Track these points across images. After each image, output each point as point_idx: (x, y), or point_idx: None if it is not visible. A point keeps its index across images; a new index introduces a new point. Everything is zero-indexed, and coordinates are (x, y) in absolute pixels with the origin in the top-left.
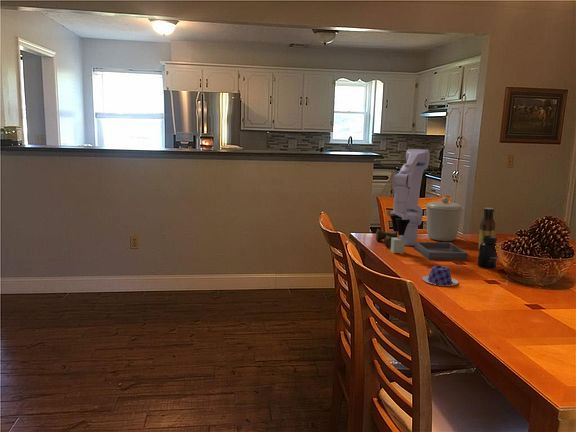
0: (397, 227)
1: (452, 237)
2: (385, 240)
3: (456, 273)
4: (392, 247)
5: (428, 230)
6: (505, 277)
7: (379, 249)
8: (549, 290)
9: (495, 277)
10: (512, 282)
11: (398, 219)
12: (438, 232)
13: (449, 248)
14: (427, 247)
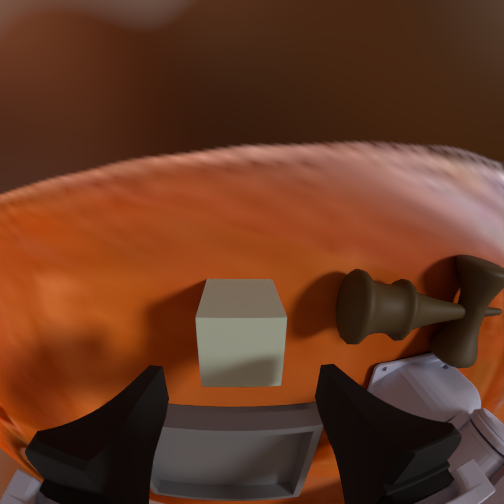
0: (328, 413)
1: None
2: (366, 279)
3: (13, 387)
4: (232, 290)
5: None
6: None
7: (305, 217)
8: (14, 452)
9: (31, 439)
10: (19, 440)
11: (26, 454)
12: None
13: (281, 482)
14: (301, 442)
